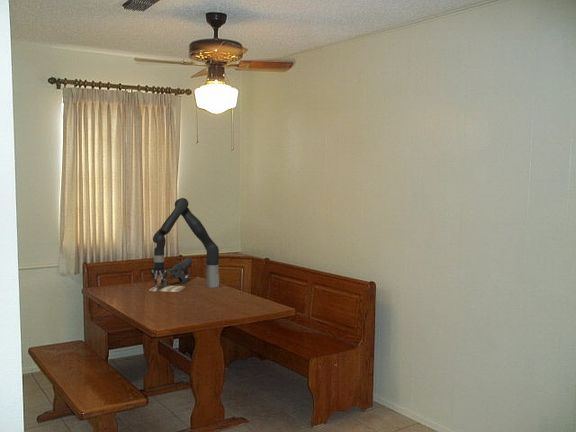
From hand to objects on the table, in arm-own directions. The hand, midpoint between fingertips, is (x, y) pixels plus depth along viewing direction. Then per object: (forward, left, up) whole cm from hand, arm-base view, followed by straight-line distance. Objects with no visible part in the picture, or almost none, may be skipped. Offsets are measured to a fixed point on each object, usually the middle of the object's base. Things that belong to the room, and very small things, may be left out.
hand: (159, 283), depth 404 cm
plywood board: (-5, -4, -5) cm, 8 cm away
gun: (-9, -24, -5) cm, 26 cm away
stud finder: (0, -8, -4) cm, 9 cm away
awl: (0, 0, -2) cm, 2 cm away
